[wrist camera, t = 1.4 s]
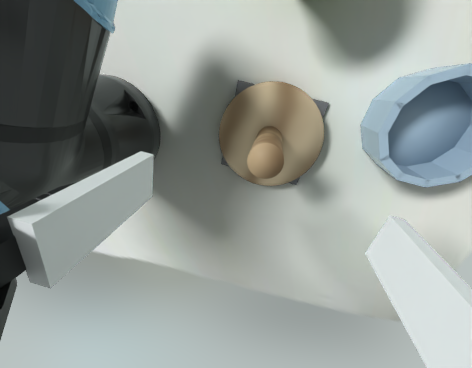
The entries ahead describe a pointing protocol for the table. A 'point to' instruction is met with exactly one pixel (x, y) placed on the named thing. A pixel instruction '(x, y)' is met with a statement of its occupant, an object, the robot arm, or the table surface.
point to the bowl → (423, 127)
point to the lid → (271, 133)
